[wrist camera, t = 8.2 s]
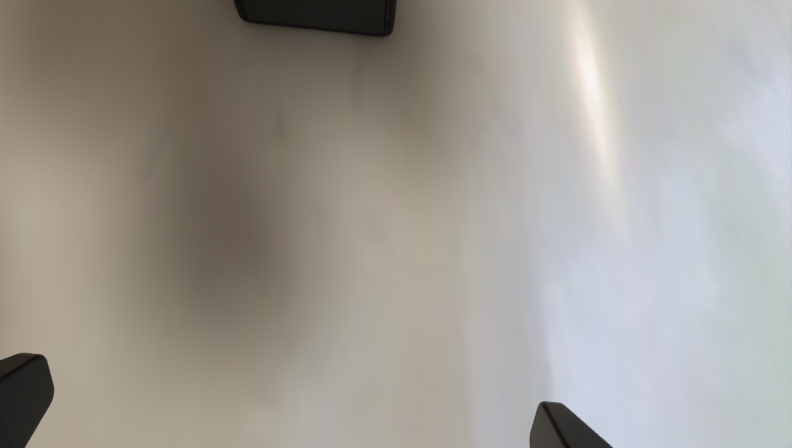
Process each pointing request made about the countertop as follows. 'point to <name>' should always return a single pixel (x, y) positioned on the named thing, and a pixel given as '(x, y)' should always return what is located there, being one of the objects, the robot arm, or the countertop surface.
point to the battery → (323, 14)
